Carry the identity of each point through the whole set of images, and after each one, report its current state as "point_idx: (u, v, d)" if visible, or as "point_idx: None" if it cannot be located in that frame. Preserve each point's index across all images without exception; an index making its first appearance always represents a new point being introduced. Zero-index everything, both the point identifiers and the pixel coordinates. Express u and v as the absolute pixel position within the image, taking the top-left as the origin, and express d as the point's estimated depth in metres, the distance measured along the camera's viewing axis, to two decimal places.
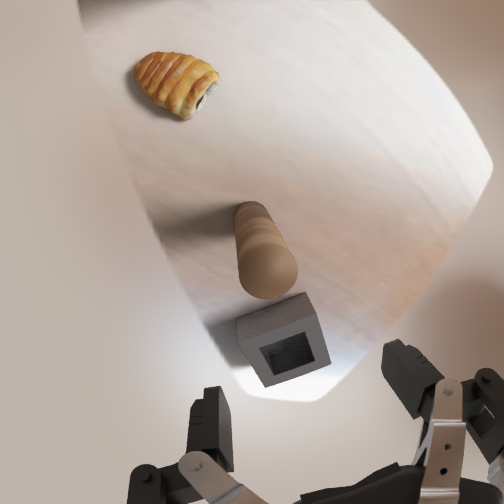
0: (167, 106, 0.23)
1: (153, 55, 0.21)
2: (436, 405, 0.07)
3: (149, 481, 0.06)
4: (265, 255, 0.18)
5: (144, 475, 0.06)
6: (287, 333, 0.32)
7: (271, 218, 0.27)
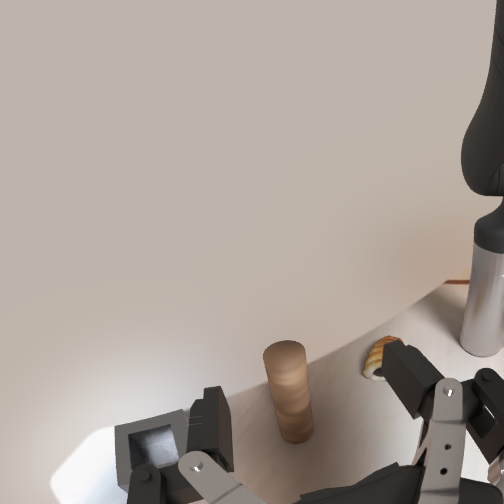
0: (368, 355, 0.35)
1: (399, 339, 0.37)
2: (436, 405, 0.07)
3: (149, 481, 0.06)
4: (297, 348, 0.24)
5: (144, 475, 0.06)
6: (181, 445, 0.24)
7: (306, 421, 0.25)
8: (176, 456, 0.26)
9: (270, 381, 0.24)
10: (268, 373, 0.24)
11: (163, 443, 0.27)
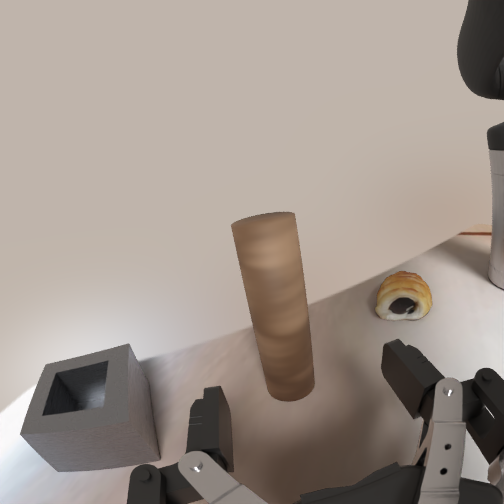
0: (380, 288, 0.28)
1: (415, 273, 0.30)
2: (436, 405, 0.07)
3: (149, 481, 0.06)
4: (283, 214, 0.17)
5: (144, 475, 0.06)
6: (112, 386, 0.16)
7: (303, 356, 0.18)
8: None
9: (242, 267, 0.17)
10: (239, 250, 0.16)
11: (102, 395, 0.20)
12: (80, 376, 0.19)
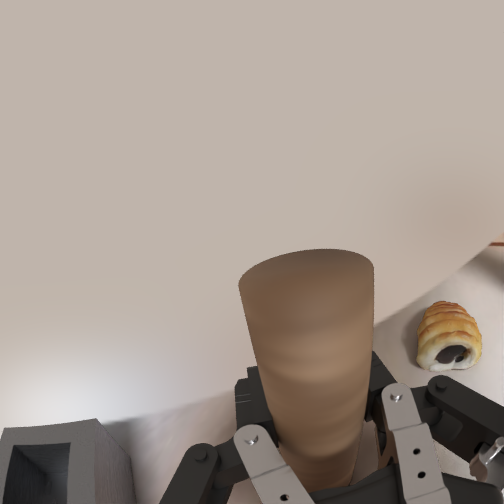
0: (423, 330, 0.19)
1: (457, 304, 0.21)
2: (388, 413, 0.07)
3: (206, 460, 0.07)
4: (345, 260, 0.08)
5: (200, 455, 0.07)
6: (76, 489, 0.07)
7: (348, 464, 0.09)
8: None
9: (262, 368, 0.08)
10: (256, 341, 0.07)
11: None
12: (42, 452, 0.10)
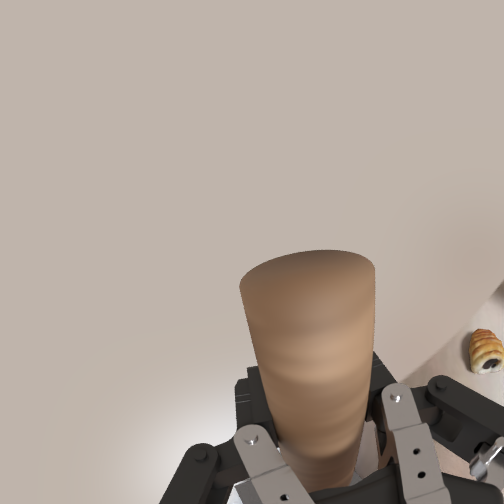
0: (474, 350, 0.27)
1: (489, 330, 0.29)
2: (388, 413, 0.07)
3: (206, 460, 0.07)
4: (346, 261, 0.08)
5: (200, 455, 0.07)
6: None
7: (349, 465, 0.09)
8: None
9: (263, 369, 0.08)
10: (257, 342, 0.07)
11: None
12: None
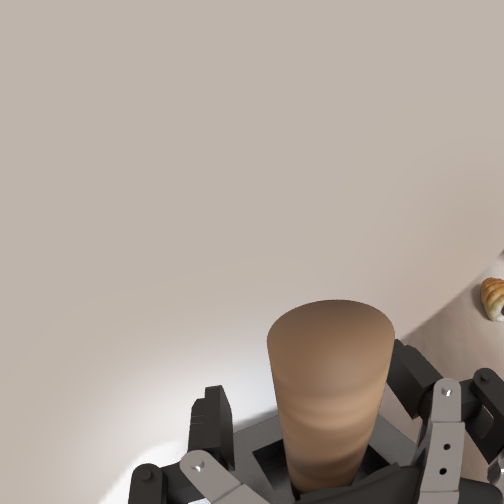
0: (489, 295, 0.24)
1: (500, 279, 0.26)
2: (435, 405, 0.07)
3: (151, 480, 0.06)
4: (367, 319, 0.08)
5: (146, 475, 0.06)
6: (380, 440, 0.12)
7: (350, 481, 0.09)
8: None
9: (284, 413, 0.08)
10: (282, 394, 0.07)
11: None
12: None
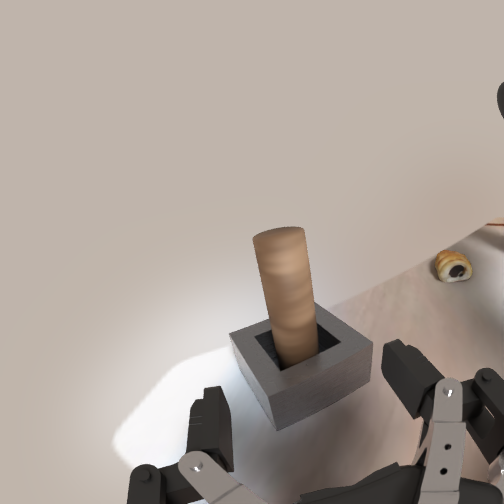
0: (439, 261, 0.36)
1: None
2: (436, 405, 0.07)
3: (149, 481, 0.06)
4: (295, 230, 0.21)
5: (144, 475, 0.06)
6: (334, 329, 0.24)
7: (311, 345, 0.22)
8: None
9: (262, 273, 0.21)
10: (259, 260, 0.20)
11: None
12: None
